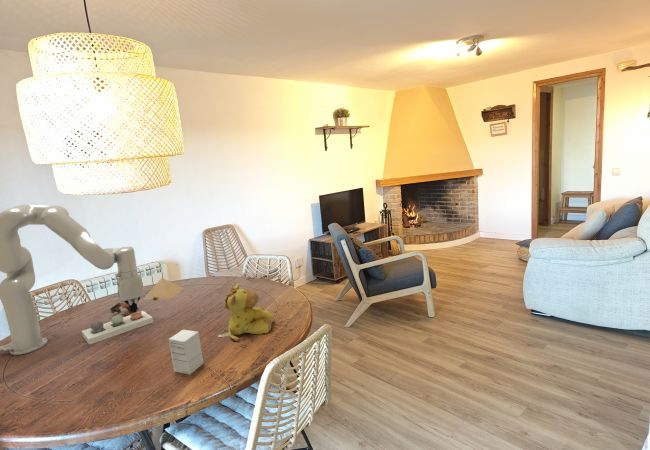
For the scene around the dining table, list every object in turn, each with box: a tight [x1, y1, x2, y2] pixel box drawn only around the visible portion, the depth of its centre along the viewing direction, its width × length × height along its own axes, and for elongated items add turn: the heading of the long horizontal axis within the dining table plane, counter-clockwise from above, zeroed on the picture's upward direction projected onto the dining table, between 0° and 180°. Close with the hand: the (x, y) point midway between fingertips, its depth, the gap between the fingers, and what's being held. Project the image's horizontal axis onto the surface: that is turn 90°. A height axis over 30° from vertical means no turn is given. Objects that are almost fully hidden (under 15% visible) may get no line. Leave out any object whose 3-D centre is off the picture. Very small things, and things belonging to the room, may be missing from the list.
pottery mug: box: [109, 299, 133, 317], centre depth 185 cm, size 12×10×8 cm
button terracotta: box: [131, 311, 142, 321], centre depth 173 cm, size 5×5×4 cm
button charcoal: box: [89, 320, 104, 333], centre depth 162 cm, size 5×5×4 cm
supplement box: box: [168, 329, 204, 376], centre depth 130 cm, size 7×7×13 cm
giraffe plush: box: [217, 283, 274, 342], centre depth 157 cm, size 20×24×19 cm
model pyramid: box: [142, 277, 186, 301], centre depth 209 cm, size 17×17×10 cm
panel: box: [81, 310, 154, 346], centre depth 168 cm, size 26×12×2 cm, turn 134°
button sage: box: [110, 314, 124, 327], centre depth 167 cm, size 5×5×4 cm
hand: (133, 311), depth 172 cm, fingers closed
